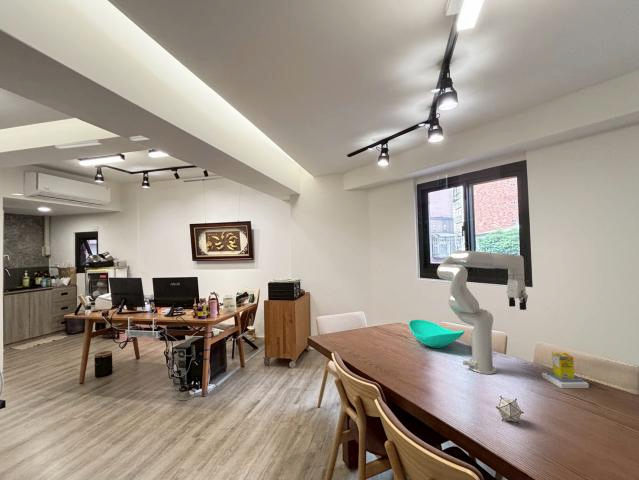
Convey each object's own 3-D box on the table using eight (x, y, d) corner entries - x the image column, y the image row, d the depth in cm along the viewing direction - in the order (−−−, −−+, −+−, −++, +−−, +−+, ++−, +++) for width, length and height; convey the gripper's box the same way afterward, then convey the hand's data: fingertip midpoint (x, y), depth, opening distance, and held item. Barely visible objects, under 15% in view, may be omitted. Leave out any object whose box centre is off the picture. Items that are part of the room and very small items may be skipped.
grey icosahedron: (503, 429, 112) (486, 401, 117) (523, 419, 112) (505, 392, 118) (513, 429, 104) (494, 399, 109) (535, 419, 105) (514, 389, 110)
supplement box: (574, 380, 139) (573, 356, 139) (560, 380, 140) (559, 356, 140) (566, 375, 145) (565, 352, 145) (552, 374, 146) (551, 352, 146)
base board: (561, 388, 136) (561, 380, 136) (542, 377, 148) (542, 370, 148) (588, 388, 136) (588, 380, 136) (567, 377, 148) (566, 370, 148)
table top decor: (476, 351, 186) (476, 330, 187) (443, 358, 175) (442, 335, 175) (429, 336, 222) (428, 317, 223) (399, 341, 211) (398, 321, 212)
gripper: (500, 276, 178) (501, 305, 177) (518, 278, 161) (520, 311, 160) (513, 276, 178) (515, 305, 177) (533, 278, 160) (534, 311, 160)
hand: (517, 308), depth 168 cm, fingers open, 9 cm apart
